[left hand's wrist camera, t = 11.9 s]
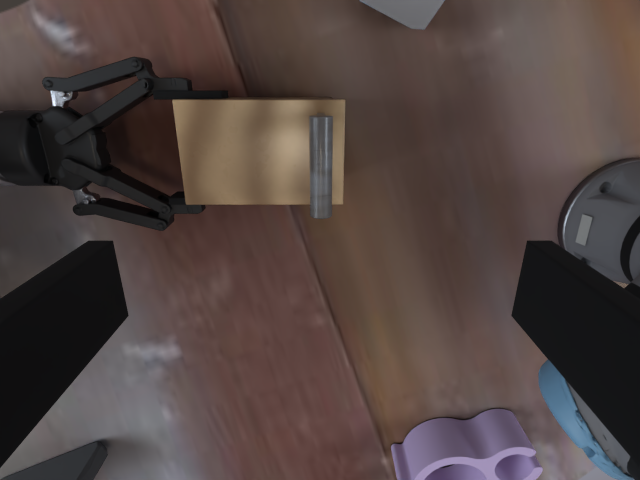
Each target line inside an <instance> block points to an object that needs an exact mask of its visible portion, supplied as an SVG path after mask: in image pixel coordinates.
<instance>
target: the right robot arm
mask: <svg viewBox="0 0 640 480" xmlns="http://www.w3.org/2000/svg"><path fill="white" fill-rule="evenodd" d="M134 76H137V78H138V80H139V81H137V82H136V83H134V84H133V85H131V86H130V87H128V88H127V89H125V90H124V91H122V92H121V93H119V94H118V95H116V96H115V97H113V98H112V99H110V100H109V101H107V102H106V103H104V104H103V105H101V106H100V107H98V108H97V109H95V110H94V111H92V112H90V113H88V114H86V115H84V116H83V115H81V114H80V113H78V112H76V111H75V110H73V109H72V108H70V107H68V104H69V102H70V101H71V100H75V99H76V98H77V96H78V92H83V91H89V90H92V89H96V88H99V87H102V86H105V85H108V84H111V83H115V82H118V81H121V80H124V79H127V78H130V77H134ZM42 84H43V86H44V88H45V89H47V90H49V91H50V92H51V98H52V104H53V106H52V107H50V108H49V109H47V110H45V111H5V112H3V111H0V186H14V185H21V186H64V187H66V188H68V189H70V190H73V193H74V196H75V199H76V202H77V205H75V206H74V207H73V212H74V213H75V214H76V215H79V216H82V215H95V214H96V215H100V216H104V217H108V218H112V219H116V220H120V221H124V222H128V223H132V224H136V225H140V226H144V227H148V228H152V229H156V230H160V231H163V230H165V229H166V228H167V227H168V226H169V225H171V224H172V223H173V222H174V214H188V213H189V214H192V213H193V214H198V213H200V212H202V211H203V210H204V209H205V205H186V201H185V193H184V192H176V193H175V194H173V195H172V196H171V197H170V196H168V195H166V194H164V193H162V192H160V191H158V190H156V189H154V188H152V187H150V186H148V185H146V184H144V183H142V182H140V181H138V180H136V179H134V178H132V177H130V176H128V175H126V174H124V173H122V172H121V170H120V169H118V168H116V167H114V166H113V165H111V164H109V163H110V162H111V159H110V155H109V153H108V150H107V148H106V143H107V139H106V134H105V132H102V130H101V129H103V128H104V127H106V126H108V125H109V124H111V123H112V121H113V120H115V119H116V118H118V117H119V116H121V115H122V114H124V113H126V112H127V111H129V110H130V109H132V108H133V107H135V106H136V105H138V104H139V103H141V102H142V101H144V100H145V99H147V98H148V97H150V96H151V95H153V96H154V99H227V98H228V91H192V82H191V80H189V79H187V78H159V77H157V76H156V75H155V73H154V71H153V69H152V63H151V62H150V61H149V60H148V59H145V58H139V57H131V58H128V59H125V60H122V61H119V62H115V63H112V64H109V65H106V66H103V67H100V68H97V69H94V70H91V71H88V72H84V73H81V74H78V75H75V76H72V77H69V78H59V77H45V78H44V79H43V81H42ZM92 182H93V183H95V184H97V185H100V186H105V187H108V188H110V189H112V190H114V191H116V192H118V193H120V194H122V195H125V196H127V197H129V198H131V199H133V200H135V201H137V202H139V203H141V204H143V205H145V206H147V207H149V208H151V209H149V208H145V207H141V206H137V205H133V204H130V203H126V202H122V201H118V200H114V199H109V198H100V195H99V194H96V193H92V192H90V191H88V190H87V188H86V187H87V186H88V185H89V184H91V183H92ZM0 299H1V298H0Z"/></svg>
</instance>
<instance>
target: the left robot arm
mask: <svg viewBox="0 0 640 480" xmlns="http://www.w3.org/2000/svg"><path fill="white" fill-rule="evenodd" d="M558 239H559V244H560V246H559V245H557V244H556V243H554V242H552V241H527V244H526V249H525V254H524V258H523V263H522V268H521V273H520V277H519V282H518V287H517V292H516V297H515V301H514V306H513V311H512V317H513V318H514V319H515V320H516V322H517V323H518V324H519V325H520V326H521V327H522V329H523V330H524V331H525V332H526V333H527V335H528V336H529V337H530V338H531V339H532V341H533V342H534V343H535V344H536V345H537V346H538V348H539V349H540V350H541V351H542V352H543V354H544V355H545V356H546V357H547V358H548V360H547V361H546V362H545V363H544V364H543V365H542V366H541V368H540V370H539V387H540V390H541V393H542V395H543V398H544V400H545V402H546V404H547V405H548V407H549V409H550V411H551V412H552V414H553V415H554V417H555V418H556V420H557V421H558V423H559V424H560V425H561V427H562V428H563V430H564V431H565V432H566V434H567V435H568V436H569V437H570V438H571V440H572V441H573V442H574V443H575V444H576V445H577V446H578V447H579V448H582V449H583V450H584V452H585V453H586V455H587V456H588V458H589V459H590V460H591V461H592V462H593V463H594V464H595V465H596V466H597V467H598V468H600V469H601V470H602V471H603V472H605V473H606V474H607V475H609V476H611V477H612V478H615V479H618V480H634V479H635V480H640V158H632V159H624V160H620V161H617V162H614V163H611V164H608V165H606V166H604V167H602V168H600V169H598V170H597V171H595V172H593V173H592V174H591V175H589V176H588V177H587V178H586V179H584V180H583V181H582V182H581V183H580V184H579V185H578V186H577V187H576V188H575V190H574V191H573V192H572V193H571V195H570V196H569V198H568V199H567V201H566V203H565V205H564V207H563V209H562V212H561V215H560V218H559V223H558ZM612 280H613V281H617V282H622V283H626V284H629V285H628V286H626V287H625V288H622V287H621V286H619V285H618V284H616V283H615V282H613V281H612ZM127 317H128V311H127V306H126V301H125V297H124V292H123V287H122V282H121V277H120V273H119V268H118V263H117V258H116V254H115V249H114V244H113V241H88V242H86V243H84V244H83V245H81V246H80V247H78V248H77V249H75V250H74V251H72V252H71V253H69V254H68V255H66V256H65V257H63V258H62V259H60V260H59V261H57V262H56V263H54V264H53V265H51V266H50V267H48V268H46V269H45V270H43V271H42V272H40V273H39V274H37V275H36V276H34V277H33V278H31V279H30V280H28V281H27V282H25V283H24V284H22V285H21V286H19V287H18V288H16V289H15V290H13V291H12V292H10V293H9V294H7V295H5V296H4V297H2V298H1V299H0V467H1V466H2V465H3V464H4V463H5V462H6V460H7V459H8V458H9V457H10V456H11V454H12V453H13V452H14V451H15V450H16V448H17V447H18V446H19V445H20V444H21V443H22V441H23V440H24V439H25V438H26V437H27V435H28V434H29V433H30V432H31V431H32V430H33V428H34V427H35V426H36V425H37V424H38V422H39V421H40V420H41V419H42V418H43V416H44V415H45V414H46V413H47V412H48V411H49V409H50V408H51V407H52V406H53V405H54V403H55V402H56V401H57V400H58V399H59V397H60V396H61V395H62V394H63V393H64V392H65V390H66V389H67V388H68V387H69V386H70V384H71V383H72V382H73V381H74V380H75V378H76V377H77V376H78V375H79V374H80V373H81V371H82V370H83V369H84V368H85V367H86V365H87V364H88V363H89V362H90V361H91V360H92V358H93V357H94V356H95V355H96V354H97V352H98V351H99V350H100V349H101V348H102V346H103V345H104V344H105V343H106V342H107V341H108V339H109V338H110V337H111V336H112V335H113V333H114V332H115V331H116V330H117V329H118V327H119V326H120V325H121V324H122V323H123V322H124V320H125V319H126V318H127Z"/></svg>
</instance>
